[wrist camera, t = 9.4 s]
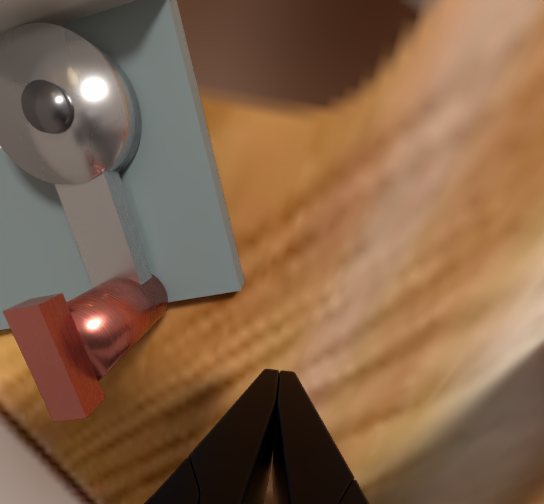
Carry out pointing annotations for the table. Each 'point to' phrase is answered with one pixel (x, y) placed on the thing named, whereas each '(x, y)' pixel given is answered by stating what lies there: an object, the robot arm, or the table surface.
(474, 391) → the table surface
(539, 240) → the table surface
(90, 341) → the crank
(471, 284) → the table surface
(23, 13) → the tray
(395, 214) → the table surface
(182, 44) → the board
